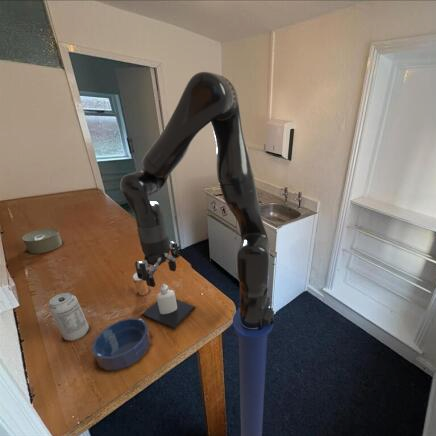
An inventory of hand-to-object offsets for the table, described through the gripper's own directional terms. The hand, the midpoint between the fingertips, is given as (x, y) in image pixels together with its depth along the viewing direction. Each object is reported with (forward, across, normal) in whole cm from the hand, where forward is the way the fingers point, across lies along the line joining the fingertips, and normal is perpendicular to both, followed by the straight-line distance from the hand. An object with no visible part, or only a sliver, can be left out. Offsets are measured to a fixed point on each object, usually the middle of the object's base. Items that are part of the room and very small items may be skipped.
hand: (163, 277), depth 77 cm
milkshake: (+16, +3, +16) cm, 23 cm away
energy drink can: (+15, -18, +19) cm, 31 cm away
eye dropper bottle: (+15, 0, 0) cm, 15 cm away
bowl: (+15, -16, +1) cm, 22 cm away
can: (+15, +7, +82) cm, 84 cm away
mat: (+16, 0, 0) cm, 16 cm away
